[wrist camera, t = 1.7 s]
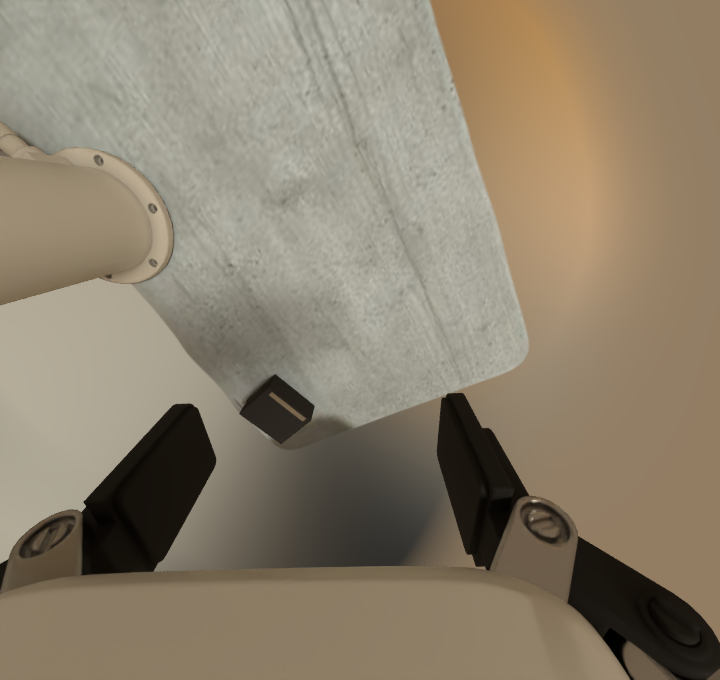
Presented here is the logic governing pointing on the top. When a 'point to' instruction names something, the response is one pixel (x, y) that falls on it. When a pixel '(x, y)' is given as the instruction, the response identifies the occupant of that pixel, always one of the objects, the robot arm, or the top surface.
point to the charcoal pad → (278, 409)
